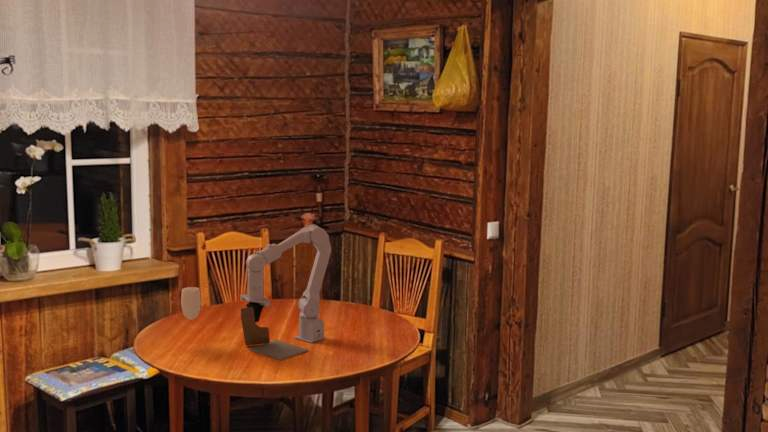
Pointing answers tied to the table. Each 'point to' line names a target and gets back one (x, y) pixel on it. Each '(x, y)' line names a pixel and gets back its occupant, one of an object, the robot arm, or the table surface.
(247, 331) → the wooden block
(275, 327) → the table surface
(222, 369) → the table surface
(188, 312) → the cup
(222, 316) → the table surface
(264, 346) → the mat
